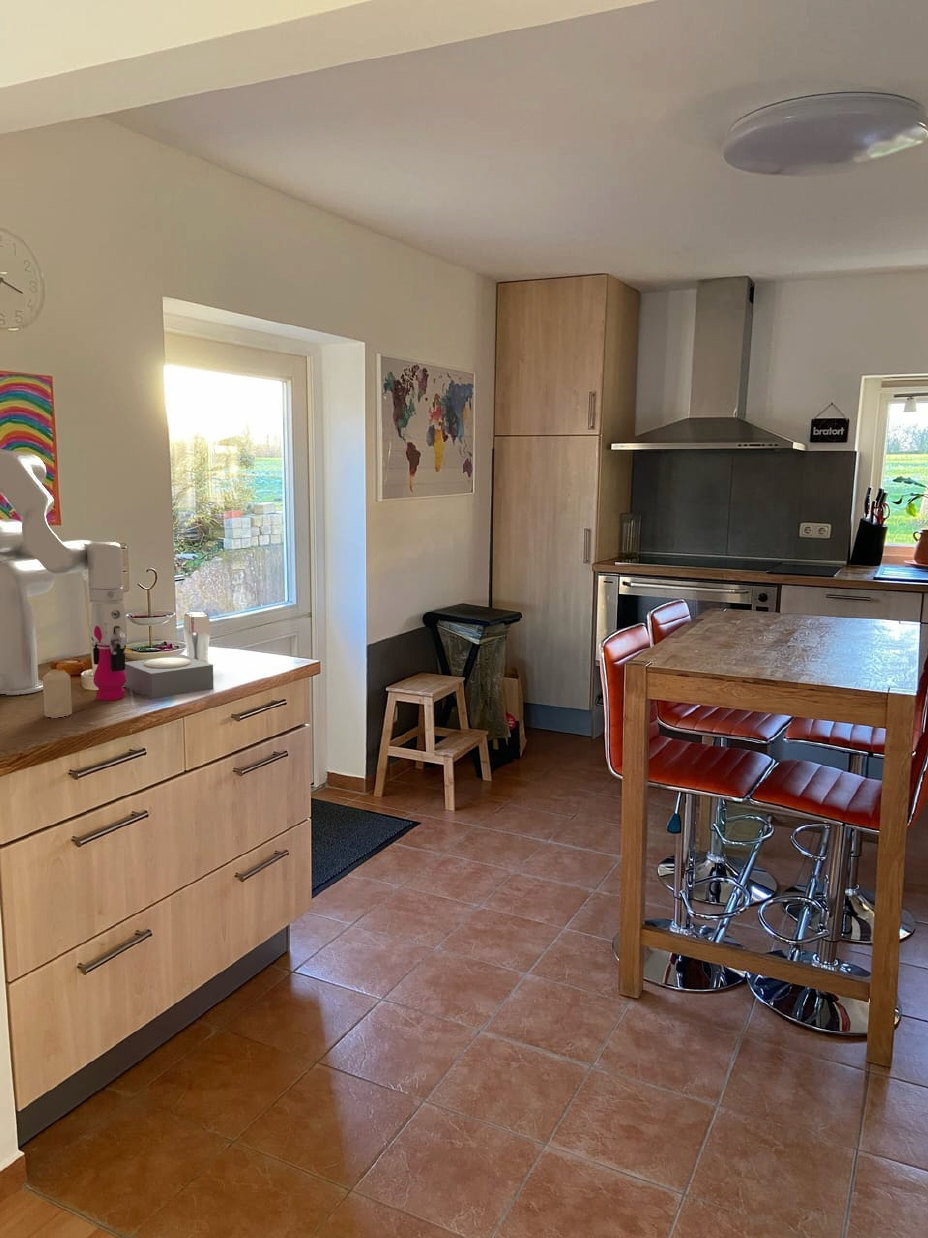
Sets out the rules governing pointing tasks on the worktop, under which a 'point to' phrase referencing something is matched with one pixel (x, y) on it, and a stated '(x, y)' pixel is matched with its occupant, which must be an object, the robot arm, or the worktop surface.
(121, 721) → the worktop surface
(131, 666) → the riser
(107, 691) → the pepper mill
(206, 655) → the beer glass
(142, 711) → the worktop surface
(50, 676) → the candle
